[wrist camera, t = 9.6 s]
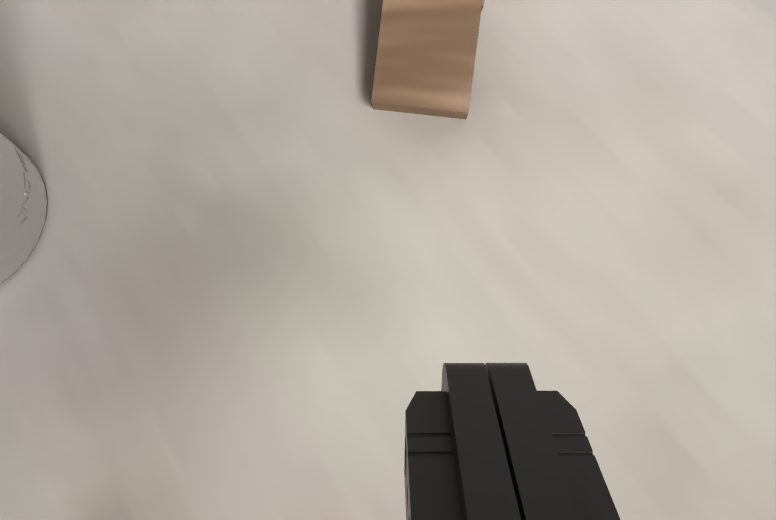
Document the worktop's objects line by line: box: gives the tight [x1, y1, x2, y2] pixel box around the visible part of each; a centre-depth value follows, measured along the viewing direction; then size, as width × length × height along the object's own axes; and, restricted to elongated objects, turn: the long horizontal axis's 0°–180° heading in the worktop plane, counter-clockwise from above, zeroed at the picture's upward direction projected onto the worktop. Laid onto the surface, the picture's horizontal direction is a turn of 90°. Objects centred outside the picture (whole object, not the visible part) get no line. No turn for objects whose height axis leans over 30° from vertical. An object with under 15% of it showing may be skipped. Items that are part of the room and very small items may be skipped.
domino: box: [371, 0, 482, 119], centre depth 34 cm, size 2×5×10 cm
